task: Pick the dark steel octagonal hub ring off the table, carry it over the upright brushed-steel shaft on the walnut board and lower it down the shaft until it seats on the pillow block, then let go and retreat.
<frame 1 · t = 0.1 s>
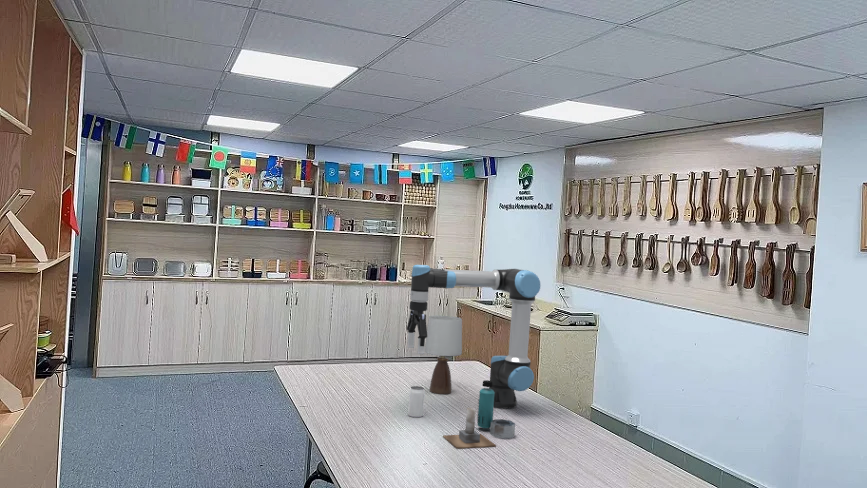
hand: (415, 350, 280), 28 cm above the table, fingers open, 13 cm apart
beverage bottle: (484, 430, 267), on the table
hub: (502, 435, 261), on the table
lamp: (440, 391, 327), on the table
can: (415, 416, 281), on the table
peg on square base: (469, 441, 250), on the table
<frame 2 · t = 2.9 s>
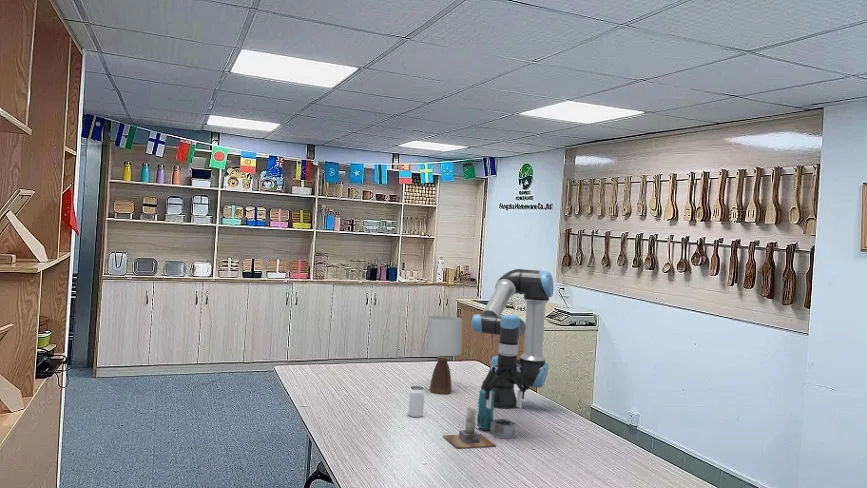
hand: (503, 407, 261), 11 cm above the table, fingers open, 13 cm apart
nothing on the table moved.
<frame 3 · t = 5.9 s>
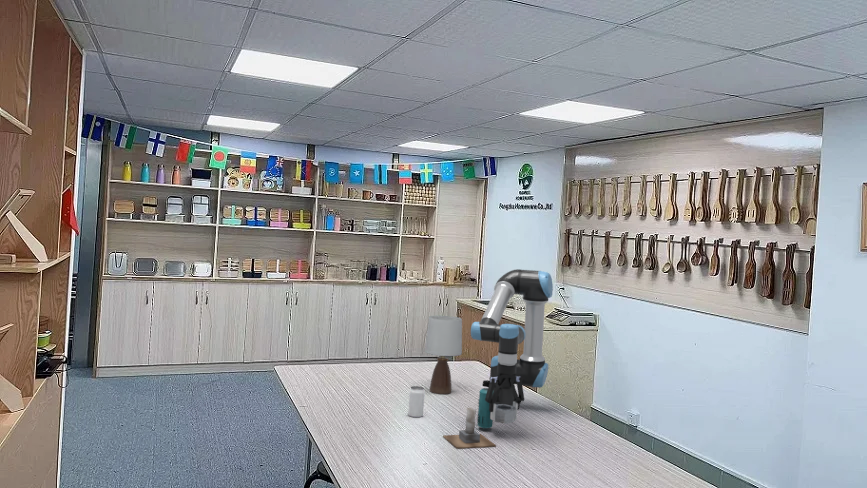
hand: (503, 419, 262), 6 cm above the table, fingers closed on hub, 9 cm apart
hub: (503, 419, 262), point 6 cm above the table, touching gripper
everything else where it was.
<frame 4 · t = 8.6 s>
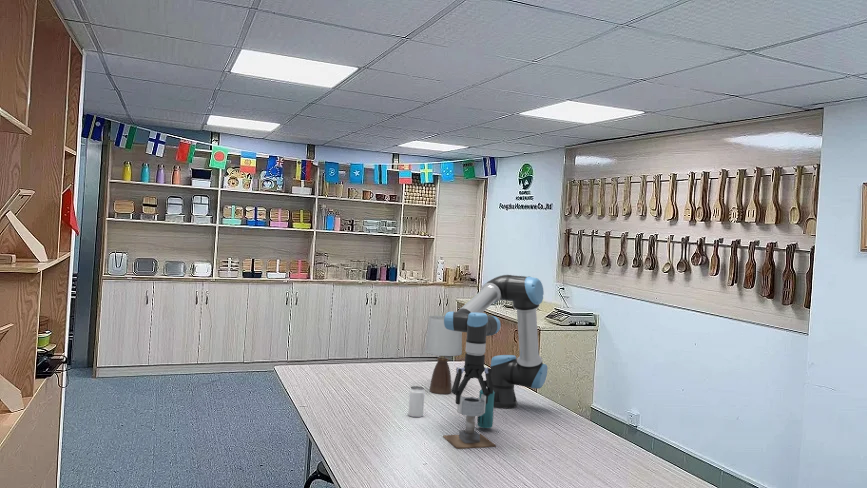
hand: (470, 412, 250), 11 cm above the table, fingers closed on hub, 9 cm apart
hub: (470, 413, 250), point 11 cm above the table, touching gripper
everything else where it was.
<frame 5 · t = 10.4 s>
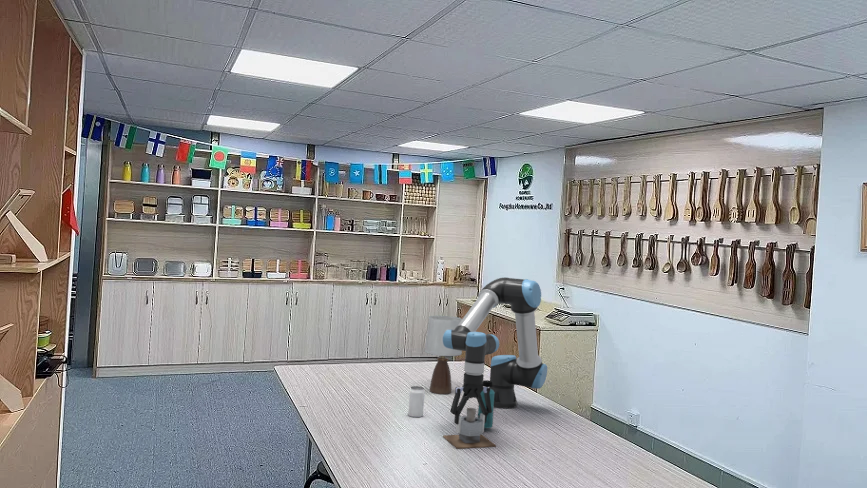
hand: (469, 431, 250), 4 cm above the table, fingers closed on hub, 9 cm apart
hub: (469, 432, 250), point 4 cm above the table, touching peg on square base, gripper
everything else where it was.
when the fingers open (4 cm above the table, at t = 11.4 s): hub stays where it is, resting on peg on square base.
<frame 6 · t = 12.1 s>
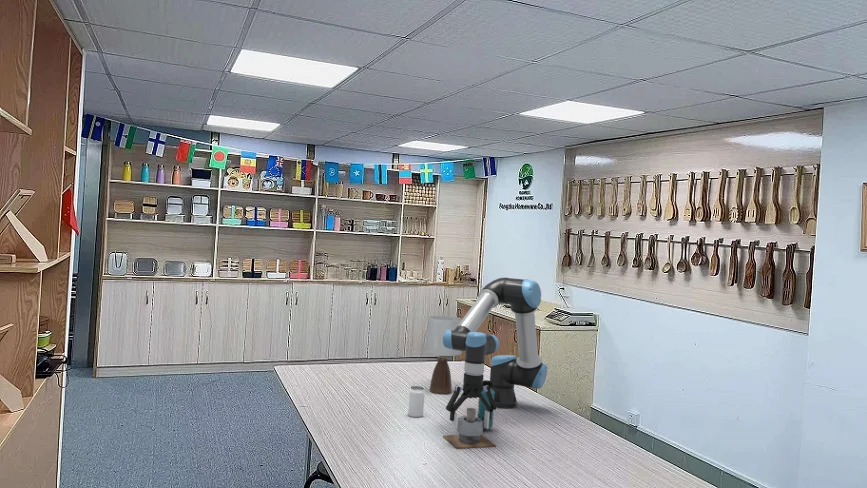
hand: (469, 428, 250), 5 cm above the table, fingers open, 13 cm apart
hub: (469, 432, 250), point 4 cm above the table, touching peg on square base
everything else where it was.
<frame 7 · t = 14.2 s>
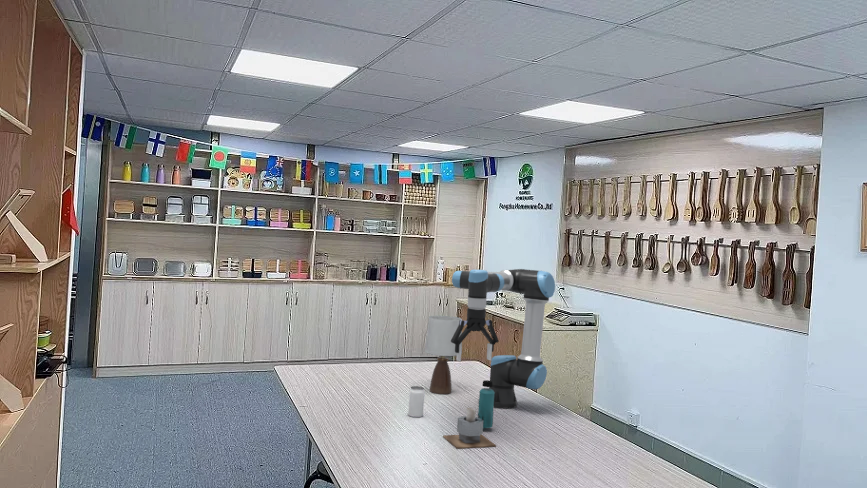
hand: (473, 360, 265), 28 cm above the table, fingers open, 13 cm apart
nothing on the table moved.
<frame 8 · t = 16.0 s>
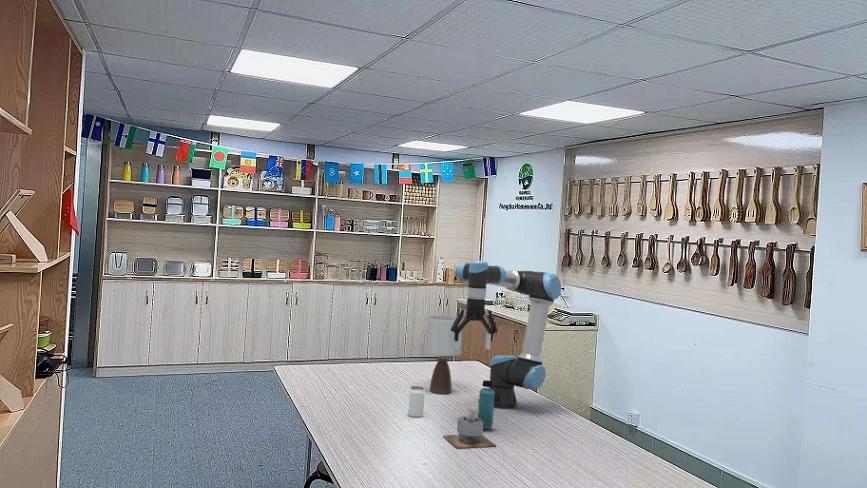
hand: (472, 349, 271), 32 cm above the table, fingers open, 13 cm apart
nothing on the table moved.
at the end: hub 0.0 cm off-centre on the peg on square base, point 3.6 cm above the peg on square base's base; hub tilted 0°; the gripper is holding nothing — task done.
